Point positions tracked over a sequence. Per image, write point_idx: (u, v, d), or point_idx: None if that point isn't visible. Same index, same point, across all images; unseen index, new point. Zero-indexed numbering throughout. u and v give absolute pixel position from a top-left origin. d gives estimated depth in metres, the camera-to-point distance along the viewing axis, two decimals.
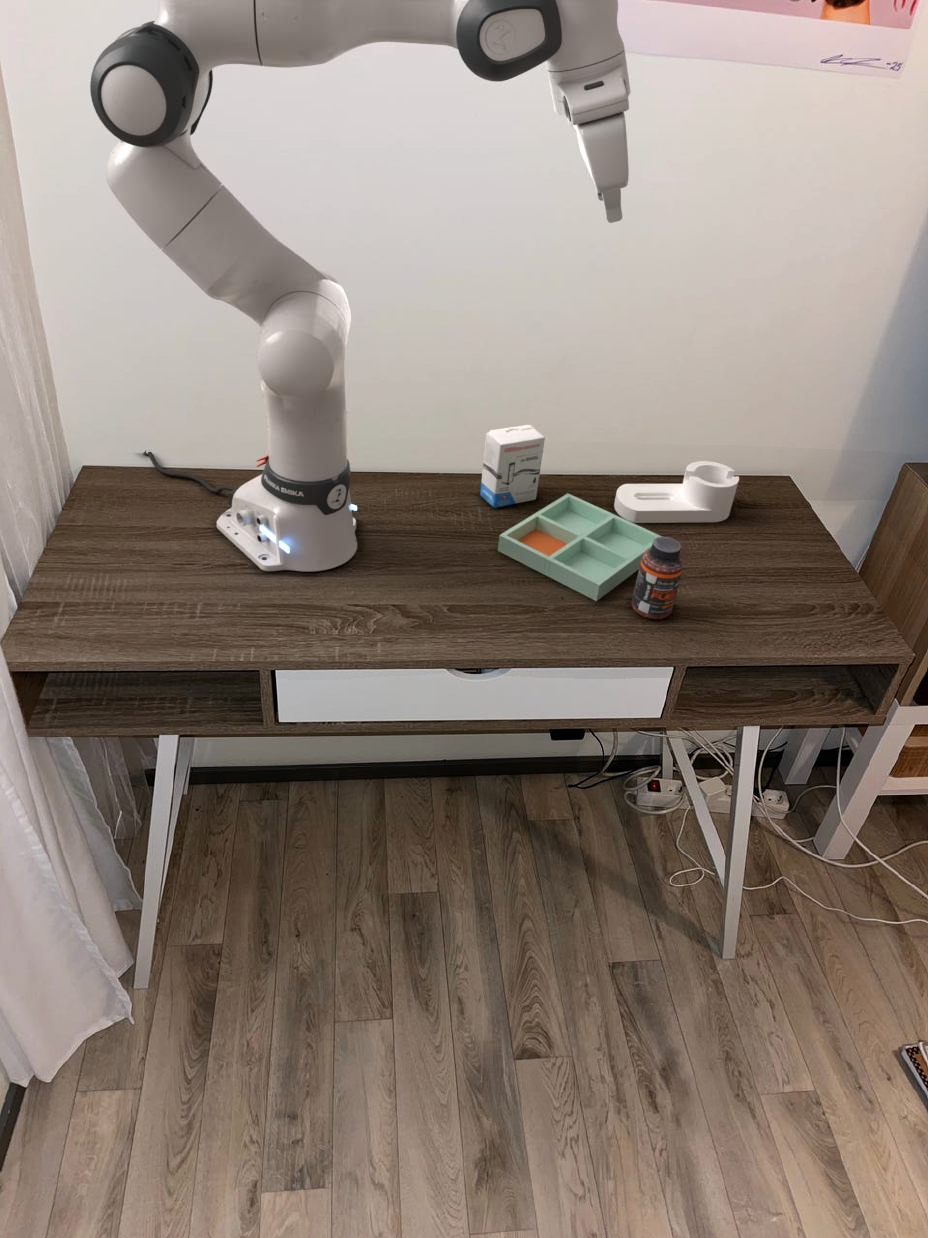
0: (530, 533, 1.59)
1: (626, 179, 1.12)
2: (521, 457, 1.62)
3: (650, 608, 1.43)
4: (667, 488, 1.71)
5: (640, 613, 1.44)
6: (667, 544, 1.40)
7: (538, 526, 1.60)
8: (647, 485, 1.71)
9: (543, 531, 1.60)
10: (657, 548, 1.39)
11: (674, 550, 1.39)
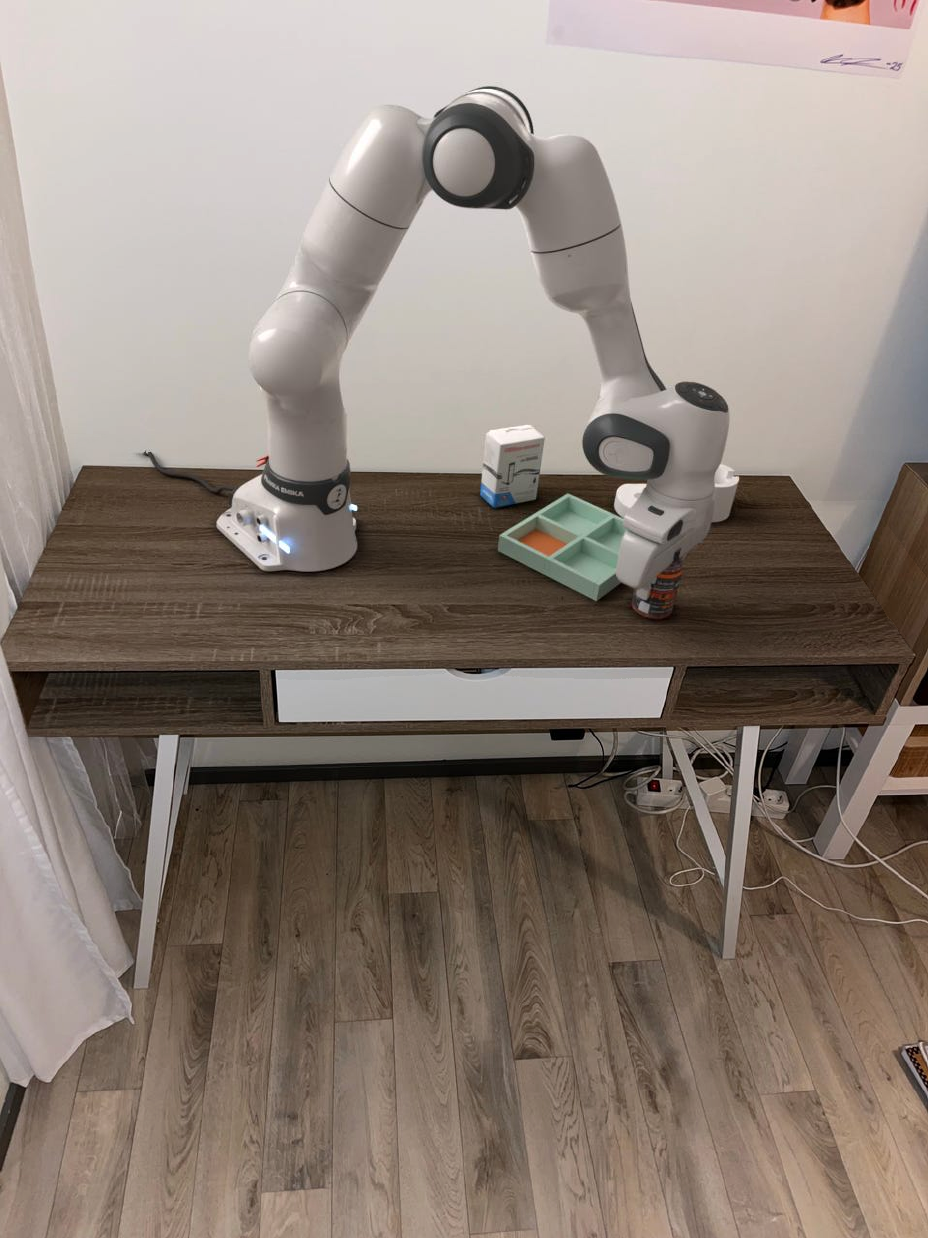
0: (530, 533, 1.59)
1: (636, 586, 1.34)
2: (521, 457, 1.62)
3: (650, 608, 1.43)
4: None
5: (640, 613, 1.44)
6: None
7: (538, 526, 1.60)
8: None
9: (543, 531, 1.60)
10: None
11: None
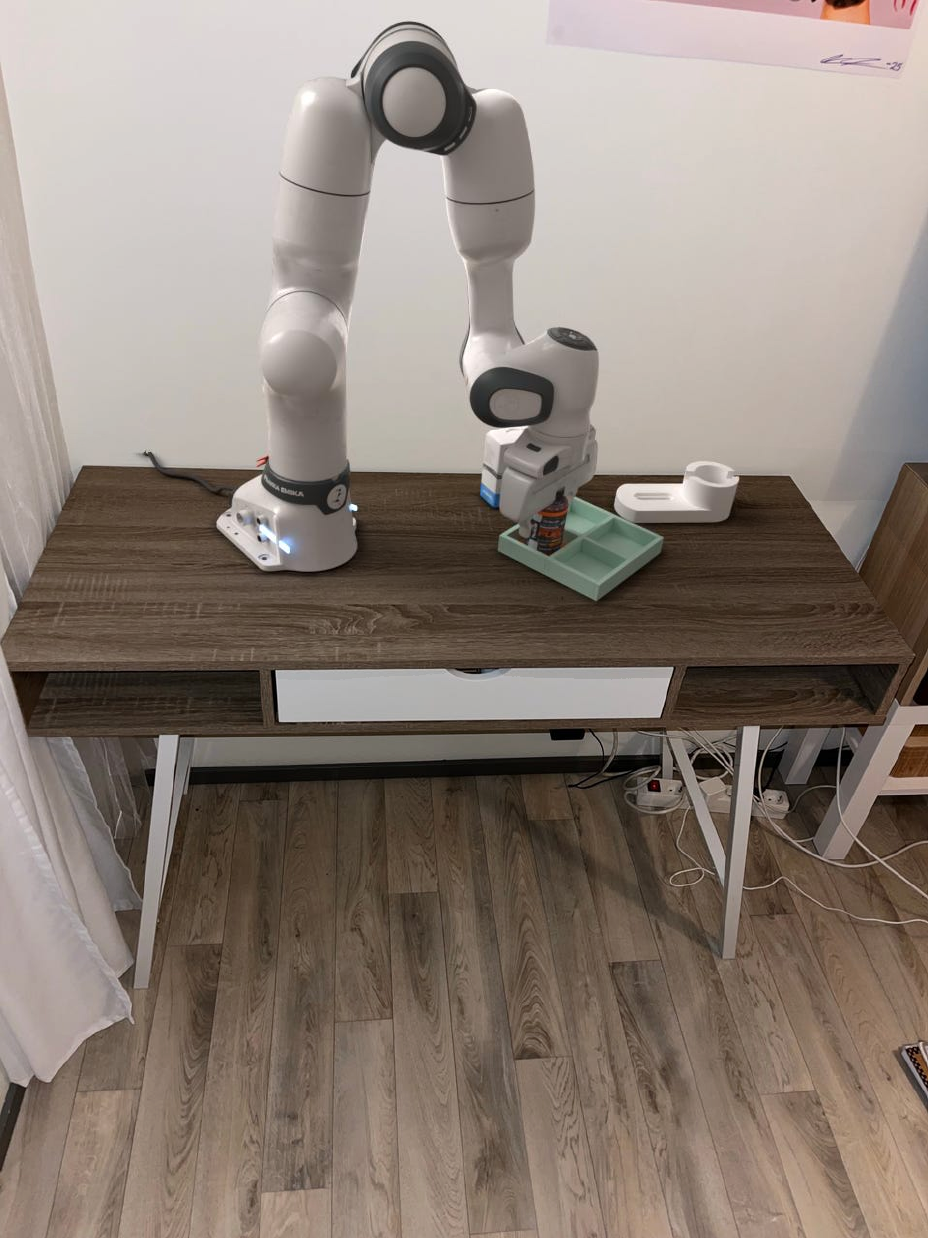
0: None
1: (517, 519, 1.43)
2: None
3: (538, 546, 1.53)
4: (667, 488, 1.71)
5: None
6: None
7: None
8: (647, 485, 1.71)
9: None
10: None
11: None
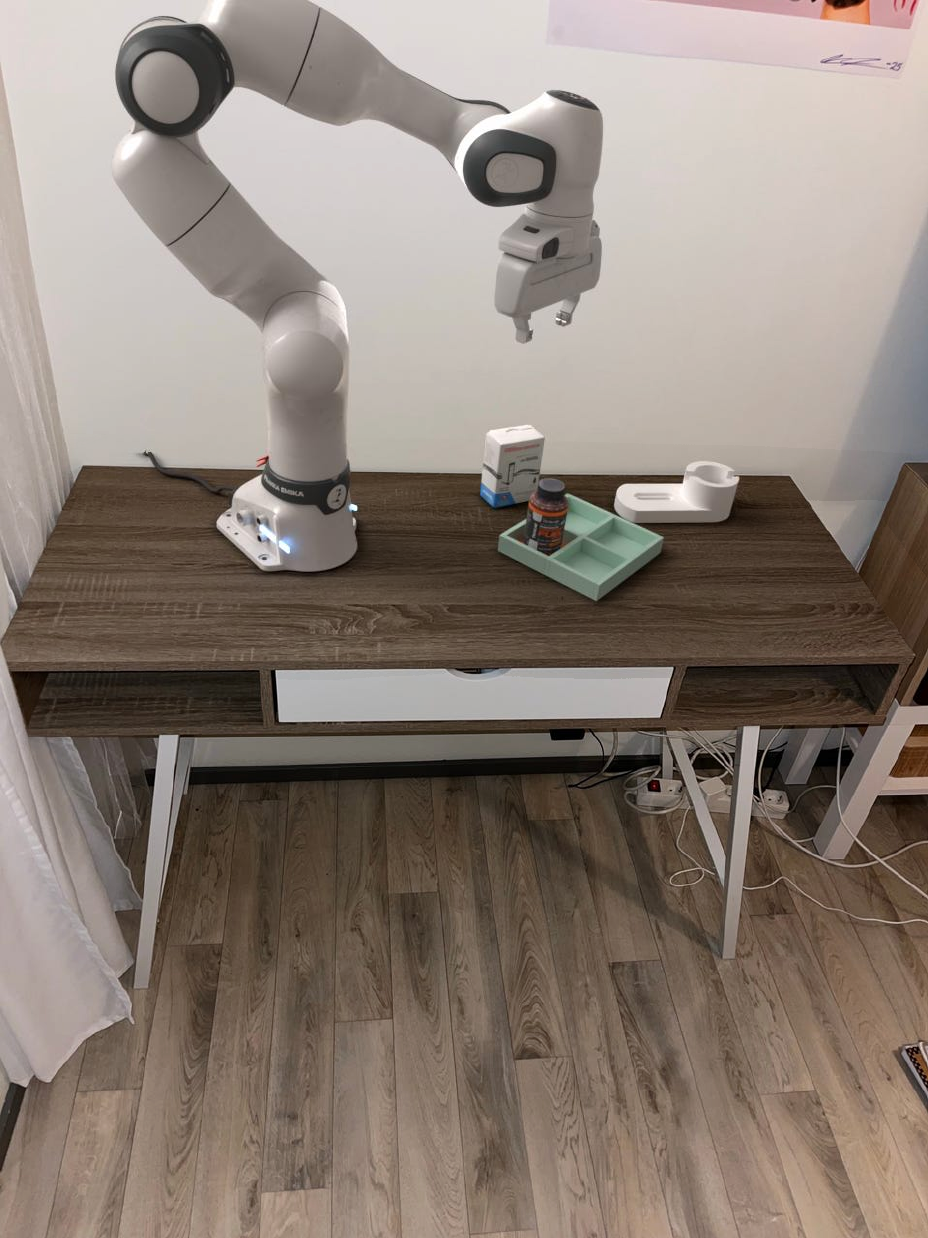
0: None
1: (514, 313, 1.30)
2: (521, 457, 1.62)
3: (538, 546, 1.53)
4: (667, 488, 1.71)
5: None
6: (552, 485, 1.49)
7: None
8: (647, 485, 1.71)
9: None
10: (541, 487, 1.49)
11: (557, 489, 1.48)
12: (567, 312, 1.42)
